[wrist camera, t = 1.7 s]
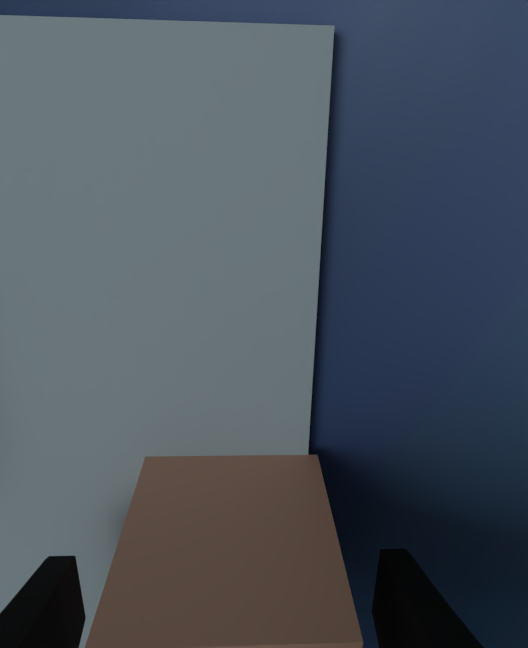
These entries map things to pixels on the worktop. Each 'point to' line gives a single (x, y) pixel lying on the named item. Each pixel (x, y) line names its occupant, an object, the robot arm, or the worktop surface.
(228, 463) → the terracotta block
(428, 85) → the worktop surface
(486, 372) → the worktop surface
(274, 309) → the mat
